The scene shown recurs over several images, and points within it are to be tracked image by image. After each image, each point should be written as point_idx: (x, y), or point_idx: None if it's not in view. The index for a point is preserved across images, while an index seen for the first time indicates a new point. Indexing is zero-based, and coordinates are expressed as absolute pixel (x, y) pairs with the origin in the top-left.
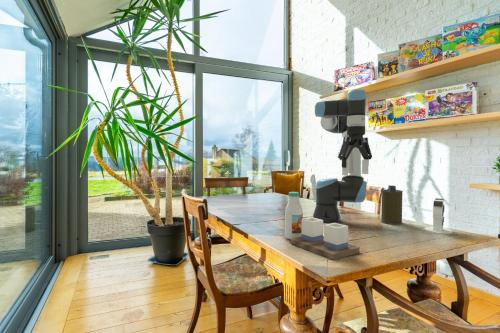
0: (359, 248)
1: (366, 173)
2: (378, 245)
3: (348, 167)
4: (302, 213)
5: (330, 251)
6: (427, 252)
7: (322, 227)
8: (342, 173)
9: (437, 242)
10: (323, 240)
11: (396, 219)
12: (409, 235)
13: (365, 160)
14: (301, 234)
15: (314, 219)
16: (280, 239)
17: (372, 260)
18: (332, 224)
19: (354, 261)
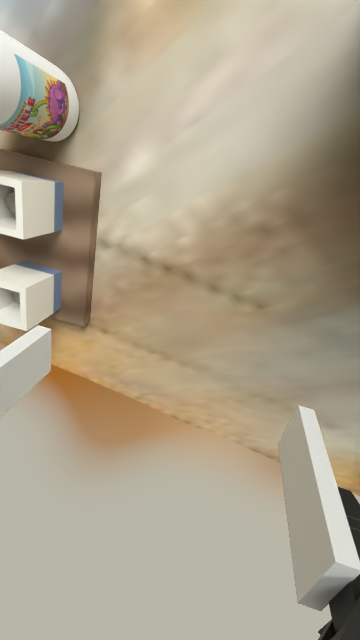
0: (84, 325)
1: (280, 442)
2: (173, 338)
3: (5, 412)
4: (4, 121)
5: None
6: (196, 420)
7: (37, 234)
8: (29, 334)
9: None
10: (58, 234)
11: None
12: (337, 378)
13: (306, 573)
14: (49, 140)
15: (17, 200)
16: None
17: (69, 353)
18: (8, 289)
19: None
